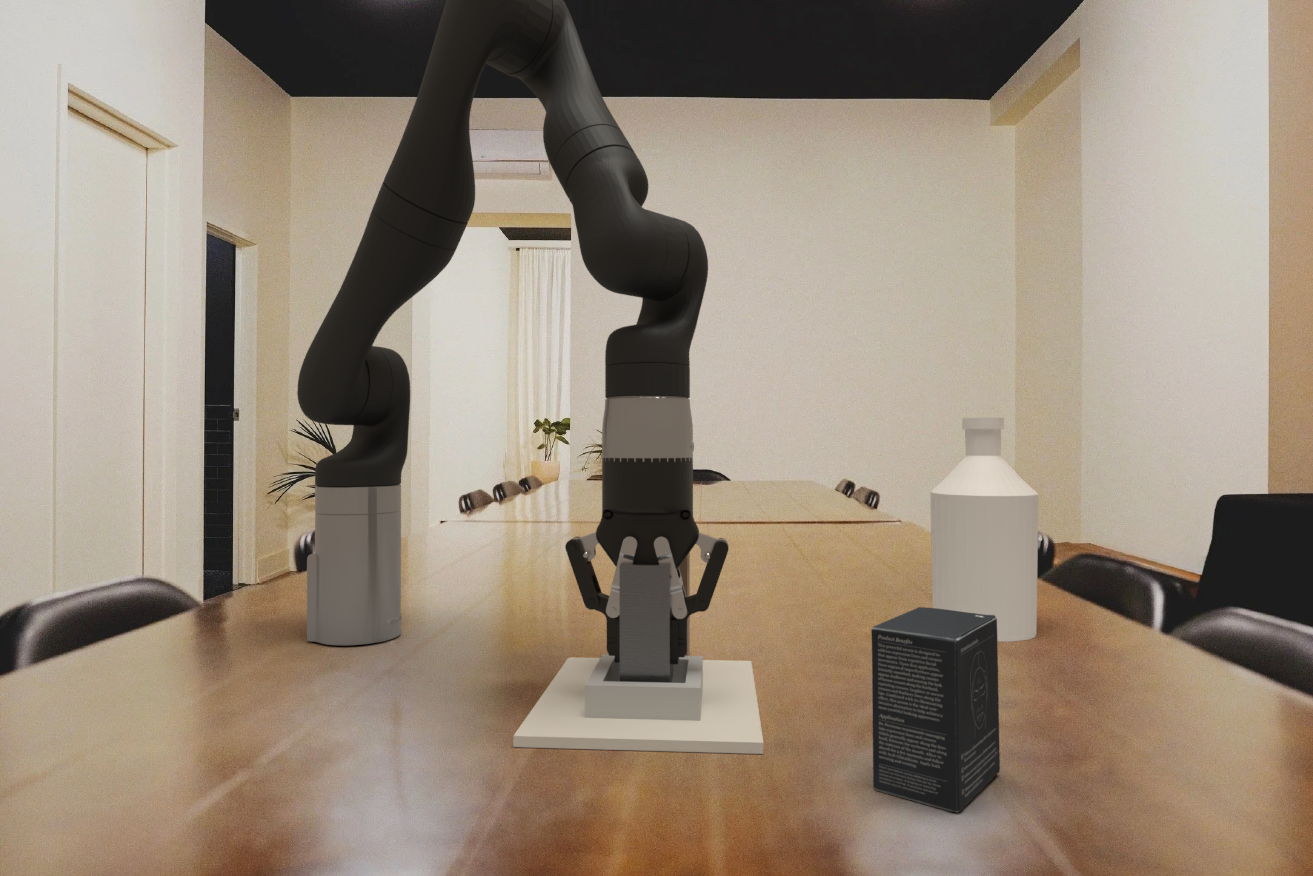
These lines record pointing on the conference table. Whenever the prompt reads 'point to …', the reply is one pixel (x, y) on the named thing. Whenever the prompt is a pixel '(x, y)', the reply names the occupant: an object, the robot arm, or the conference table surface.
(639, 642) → the tall grey pillar block
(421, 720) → the conference table surface
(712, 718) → the post base
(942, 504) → the bottle
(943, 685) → the box
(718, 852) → the conference table surface
